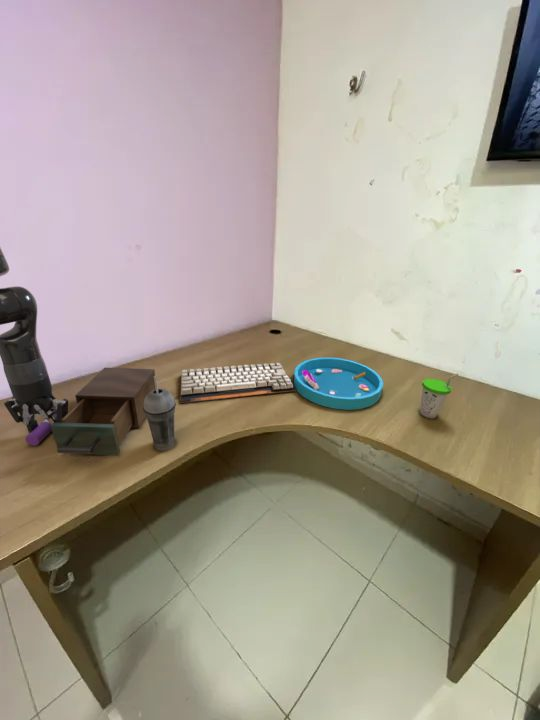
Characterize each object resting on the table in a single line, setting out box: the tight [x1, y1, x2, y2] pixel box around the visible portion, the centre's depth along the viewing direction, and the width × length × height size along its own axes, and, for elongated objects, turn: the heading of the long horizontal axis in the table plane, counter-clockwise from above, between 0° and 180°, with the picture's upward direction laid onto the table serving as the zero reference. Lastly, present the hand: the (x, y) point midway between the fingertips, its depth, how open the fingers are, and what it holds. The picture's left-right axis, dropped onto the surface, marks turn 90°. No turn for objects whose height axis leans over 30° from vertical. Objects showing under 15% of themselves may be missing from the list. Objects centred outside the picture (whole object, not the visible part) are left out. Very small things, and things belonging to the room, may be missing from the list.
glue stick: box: [25, 417, 55, 447], centre depth 78 cm, size 8×3×3 cm
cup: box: [419, 373, 459, 419], centre depth 91 cm, size 8×8×15 cm
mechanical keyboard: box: [179, 362, 296, 405], centre depth 106 cm, size 38×19×3 cm, turn 105°
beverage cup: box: [143, 375, 177, 452], centre depth 73 cm, size 7×7×20 cm
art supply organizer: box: [293, 357, 384, 411], centre depth 107 cm, size 30×30×6 cm
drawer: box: [50, 398, 135, 456], centre depth 75 cm, size 19×14×8 cm
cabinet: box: [74, 367, 156, 429], centre depth 88 cm, size 16×15×10 cm
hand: (47, 434), depth 78 cm, fingers open, 5 cm apart
